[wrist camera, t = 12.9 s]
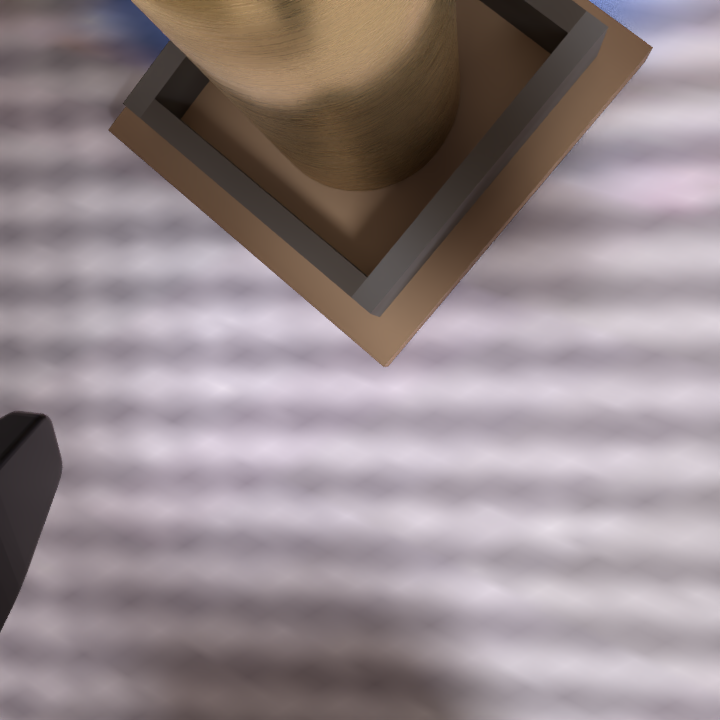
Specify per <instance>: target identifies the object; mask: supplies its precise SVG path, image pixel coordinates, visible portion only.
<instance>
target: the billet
mask: <svg viewBox="0 0 720 720" xmlns="http://www.w3.org/2000/svg"><path fill="white" fill-rule="evenodd" d="M131 1H132V2H133V3H134V4H135V5H136V6H137V7H138V8H139V9H140V10H141V11H142V12H143V13H144V14H145V15H146V16H147V17H148V18H149V19H150V20H151V21H152V22H153V23H154V24H155V25H156V26H157V27H158V28H159V29H160V30H161V31H162V32H163V33H164V34H165V35H166V36H167V37H168V38H169V39H170V40H171V41H172V42H173V43H174V44H175V45H176V46H177V47H178V48H179V49H180V50H181V51H182V52H183V53H184V54H185V55H186V56H187V57H188V58H189V59H190V60H191V61H192V62H193V64H194V65H195V66H196V67H197V68H198V69H199V70H200V71H201V72H202V73H203V74H204V75H205V76H206V77H207V78H208V79H209V80H210V81H211V82H212V83H213V84H214V85H215V86H216V87H217V88H218V89H219V90H220V91H221V92H222V93H223V94H224V95H225V96H226V97H227V98H228V99H229V100H230V101H231V102H232V103H233V104H234V105H235V106H236V107H237V108H238V109H239V110H240V111H241V112H242V113H243V114H244V115H245V116H246V117H247V118H248V119H249V120H250V121H251V122H252V123H253V124H254V125H255V126H256V127H257V128H258V129H259V130H260V131H261V132H262V133H263V134H264V135H265V136H266V137H267V138H268V139H269V140H270V141H271V142H272V144H273V145H274V146H275V147H276V148H277V149H278V150H279V151H280V152H281V153H282V154H283V155H284V156H285V157H286V158H287V159H288V160H289V161H290V162H291V163H292V164H293V165H294V166H295V167H297V168H298V169H299V170H300V171H301V172H302V173H303V174H305V175H306V176H308V177H310V178H311V179H313V180H314V181H316V182H319V183H321V184H323V185H325V186H328V187H331V188H334V189H339V190H345V191H358V192H361V191H372V190H377V189H381V188H386V187H388V186H391V185H394V184H397V183H399V182H401V181H403V180H405V179H406V178H408V177H410V176H411V175H413V174H414V173H416V172H417V171H419V170H420V169H421V168H422V167H423V166H425V165H426V164H427V163H428V162H429V161H430V160H431V159H432V158H433V157H434V155H435V154H436V153H437V152H438V151H439V149H440V148H441V146H442V145H443V143H444V142H445V140H446V139H447V137H448V135H449V133H450V131H451V129H452V126H453V123H454V121H455V118H456V115H457V110H458V106H459V100H460V72H459V54H458V37H457V19H456V1H455V0H131Z"/></svg>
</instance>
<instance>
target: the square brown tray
mask: <svg viewBox="0 0 720 720" xmlns="http://www.w3.org/2000/svg"><path fill="white" fill-rule="evenodd" d="M455 1H456V19H457V37H458V54H459V72H460V100H459V106H458V110H457V115H456V118H455V121H454V123H453V126H452V129H451V131H450V133H449V135H448V137H447V139H446V140H445V142H444V143H443V145H442V146H441V148H440V149H439V151H438V152H437V153H436V154H435V155H434V157H433V158H432V159H431V160H430V161H429V162H428V163H427V164H426V165H425V166H423V167H422V168H421V169H420V170H419V171H417V172H416V173H414V174H413V175H411V176H410V177H408V178H406V179H405V180H403V181H401V182H399V183H397V184H394V185H391V186H388V187H386V188H381V189H377V190H372V191H361V192H358V191H345V190H339V189H334V188H331V187H328V186H325V185H323V184H321V183H319V182H316V181H314V180H313V179H311V178H310V177H308V176H306V175H305V174H303V173H302V172H301V171H300V170H299V169H298V168H297V167H295V166H294V165H293V164H292V163H291V162H290V161H289V160H288V159H287V158H286V157H285V156H284V155H283V154H282V153H281V152H280V151H279V150H278V149H277V148H276V147H275V146H274V145H273V144H272V142H271V141H270V140H269V139H268V138H267V137H266V136H265V135H264V134H263V133H262V132H261V131H260V130H259V129H258V128H257V127H256V126H255V125H254V124H253V123H252V122H251V121H250V120H249V119H248V118H247V117H246V116H245V115H244V114H243V113H242V112H241V111H240V110H239V109H238V108H237V107H236V106H235V105H234V104H233V103H232V102H231V101H230V100H229V99H228V98H227V97H226V96H225V95H224V94H223V93H222V92H221V91H220V90H219V89H218V88H217V87H216V86H215V85H214V84H213V83H212V82H211V81H210V80H209V79H208V78H207V77H206V76H205V75H204V74H203V73H202V72H201V71H200V70H199V69H198V68H197V67H196V66H195V65H194V64H193V62H192V61H191V60H190V59H189V58H188V57H187V56H186V55H185V54H184V53H183V52H182V51H181V50H180V49H179V48H178V47H177V46H176V45H175V44H174V43H173V42H172V41H171V40H170V41H169V42H168V43H167V45H166V46H165V47H164V49H163V50H162V51H161V53H160V54H159V56H158V57H157V58H156V60H155V61H154V62H153V64H152V65H151V66H150V68H149V69H148V70H147V72H146V73H145V74H144V76H143V77H142V78H141V80H140V81H139V83H138V84H137V85H136V87H135V88H134V89H133V91H132V92H131V93H130V95H129V96H128V97H127V99H126V100H125V101H124V103H123V104H124V105H125V106H126V107H125V108H124V109H123V111H122V112H121V114H120V115H119V116H118V118H117V119H116V120H115V122H114V123H113V124H112V126H111V127H110V128H109V131H110V132H111V133H112V134H113V135H114V136H116V137H117V138H118V139H119V140H120V141H121V142H123V143H124V144H125V145H126V146H127V147H128V148H130V149H131V150H132V151H133V152H134V153H135V154H137V155H138V156H139V157H140V158H141V159H142V160H144V161H145V162H146V163H147V164H148V165H149V166H151V167H152V168H153V169H154V170H155V171H156V172H158V173H159V174H160V175H161V176H162V177H163V178H164V179H166V180H167V181H168V182H169V183H170V184H171V185H173V186H174V187H175V188H176V189H177V190H178V191H180V192H181V193H182V194H183V195H184V196H185V197H187V198H188V199H189V200H190V201H191V202H192V203H194V204H195V205H196V206H197V207H198V208H199V209H201V210H202V211H203V212H204V213H205V214H206V215H208V216H209V217H210V218H211V219H212V220H213V221H215V222H216V223H217V224H218V225H219V226H220V227H222V228H223V229H224V230H225V231H226V232H227V233H229V234H230V235H231V236H232V237H233V238H234V239H236V240H237V241H238V242H239V243H240V244H241V245H242V246H244V247H245V248H246V249H247V250H248V251H249V252H251V253H252V254H253V255H254V256H255V257H256V258H258V259H259V260H260V261H261V262H262V263H263V264H265V265H266V266H267V267H268V268H269V269H270V270H272V271H273V272H274V273H275V274H276V275H277V276H279V277H280V278H281V279H282V280H283V281H284V282H286V283H287V284H288V285H289V286H290V287H291V288H293V289H294V290H295V291H296V292H297V293H298V294H300V295H301V296H302V297H303V298H304V299H305V300H307V301H308V302H309V303H310V304H311V305H312V306H313V307H315V308H316V309H317V310H318V311H319V312H320V313H322V314H323V315H324V316H325V317H326V318H327V319H329V320H330V321H331V322H332V323H333V324H334V325H336V326H337V327H338V328H339V329H340V330H341V331H343V332H344V333H345V334H346V335H347V336H348V337H350V338H351V339H352V340H353V341H354V342H355V343H357V344H358V345H359V346H360V347H361V348H362V349H364V350H365V351H366V352H367V353H368V354H369V355H371V356H372V357H373V358H374V359H375V360H376V361H378V362H379V363H380V364H381V365H382V366H383V367H387V366H389V365H390V363H391V362H392V361H393V360H394V359H395V358H396V356H397V355H398V354H399V353H400V352H401V350H402V349H403V348H404V347H405V346H406V344H407V343H408V342H409V341H410V340H411V339H412V337H413V336H414V335H415V334H416V333H417V331H418V330H419V329H420V328H421V327H422V325H423V324H424V323H425V322H426V321H427V320H428V318H429V317H430V316H431V315H432V314H433V312H434V311H435V310H436V309H437V308H438V307H439V305H440V304H441V303H442V302H443V301H444V299H445V298H446V297H447V296H448V295H449V293H450V292H451V291H452V290H453V289H454V288H455V286H456V285H457V284H458V283H459V282H460V280H461V279H462V278H463V277H464V276H465V274H466V273H467V272H468V271H469V270H470V269H471V267H472V266H473V265H474V264H475V263H476V261H477V260H478V259H479V258H480V257H481V256H482V254H483V253H484V252H485V251H486V250H487V248H488V247H489V246H490V245H491V244H492V242H493V241H494V240H495V239H496V238H497V237H498V235H499V234H500V233H501V232H502V231H503V229H504V228H505V227H506V226H507V225H508V223H509V222H510V221H511V220H512V219H513V218H514V216H515V215H516V214H517V213H518V212H519V210H520V209H521V208H522V207H523V206H524V205H525V203H526V202H527V201H528V200H529V199H530V197H531V196H532V195H533V194H534V193H535V191H536V190H537V189H538V188H539V187H540V186H541V184H542V183H543V182H544V181H545V180H546V178H547V177H548V176H549V175H550V174H551V172H552V171H553V170H554V169H555V168H556V167H557V165H558V164H559V163H560V162H561V161H562V159H563V158H564V157H565V156H566V155H567V154H568V152H569V151H570V150H571V149H572V148H573V146H574V145H575V144H576V143H577V142H578V140H579V139H580V138H581V137H582V136H583V135H584V133H585V132H586V131H587V130H588V129H589V127H590V126H591V125H592V124H593V123H594V121H595V120H596V119H597V118H598V117H599V116H600V114H601V113H602V112H603V111H604V110H605V108H606V107H607V106H608V105H609V104H610V103H611V101H612V100H613V99H614V98H615V97H616V95H617V94H618V93H619V92H620V91H621V89H622V88H623V87H624V86H625V85H626V84H627V82H628V81H629V80H630V79H631V78H632V76H633V75H634V74H635V73H636V72H637V71H638V69H639V68H640V67H641V66H642V65H643V63H644V62H645V61H646V59H647V57H648V55H649V53H650V52H651V50H652V48H653V47H651V46H650V45H649V44H647V43H646V42H645V41H643V40H642V39H640V38H639V37H638V36H636V35H635V34H634V33H632V32H631V31H630V30H628V29H627V28H625V27H624V26H623V25H621V24H620V23H619V22H617V21H616V20H614V19H613V18H612V17H610V16H609V15H608V14H606V13H605V12H604V11H602V10H601V9H599V8H598V7H597V6H595V5H594V4H593V3H591V2H590V1H589V0H455Z"/></svg>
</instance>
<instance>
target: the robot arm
mask: <svg viewBox="0 0 720 720" xmlns="http://www.w3.org/2000/svg"><path fill="white" fill-rule="evenodd" d="M61 474H62V458H61V454H60V450H59V447H58V443H57V439H56V435H55V432H54V428H53V424H52V421H51V419H50V418H49V417H48V416H47V415H45V414H42V413H33V412H24V411H14V412H11V413H9V414H7V415H5V416H3V417H2V418H0V632H1V630H2V628H3V626H4V623H5V621H6V619H7V617H8V615H9V613H10V611H11V609H12V607H13V605H14V603H15V600H16V598H17V596H18V594H19V592H20V589H21V587H22V584H23V582H24V579H25V576H26V574H27V571H28V569H29V566H30V563H31V560H32V557H33V554H34V552H35V549H36V546H37V543H38V540H39V538H40V535H41V532H42V529H43V526H44V524H45V521H46V518H47V515H48V512H49V509H50V507H51V504H52V501H53V498H54V495H55V493H56V490H57V487H58V484H59V481H60V478H61Z"/></svg>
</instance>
